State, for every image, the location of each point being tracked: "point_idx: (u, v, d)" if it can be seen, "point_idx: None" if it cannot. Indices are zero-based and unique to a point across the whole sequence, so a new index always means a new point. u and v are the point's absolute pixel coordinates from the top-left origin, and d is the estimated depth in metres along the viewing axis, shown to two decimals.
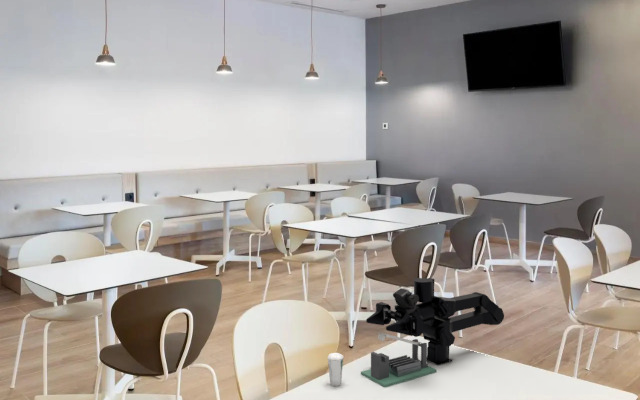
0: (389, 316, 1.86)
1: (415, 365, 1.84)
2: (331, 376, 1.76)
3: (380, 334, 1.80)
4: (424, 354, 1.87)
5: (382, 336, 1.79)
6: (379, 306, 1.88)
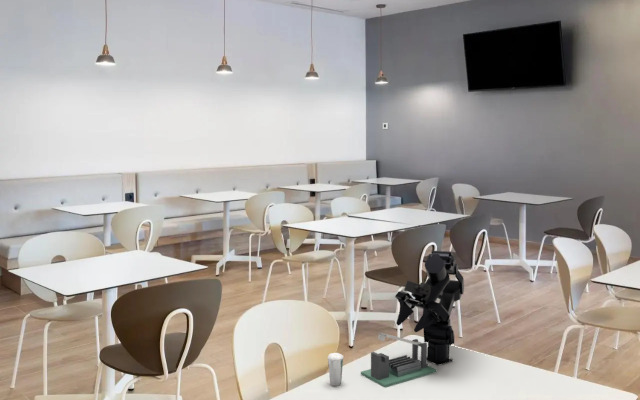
0: (412, 304, 1.90)
1: (415, 365, 1.84)
2: (331, 376, 1.76)
3: (380, 334, 1.80)
4: (424, 354, 1.87)
5: (382, 336, 1.79)
6: (400, 301, 1.90)
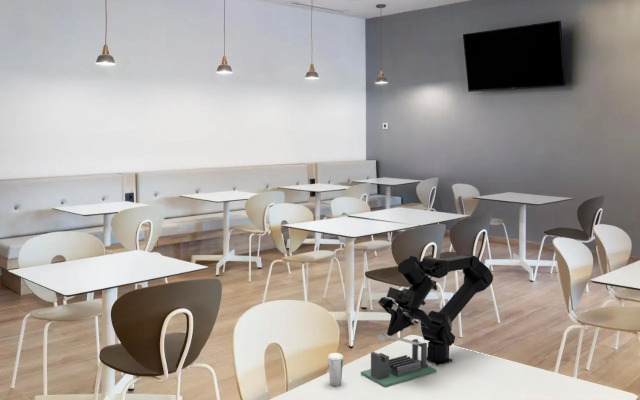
0: None
1: (415, 365, 1.84)
2: (331, 376, 1.76)
3: (380, 334, 1.80)
4: (424, 354, 1.87)
5: (382, 336, 1.79)
6: (391, 310, 1.84)
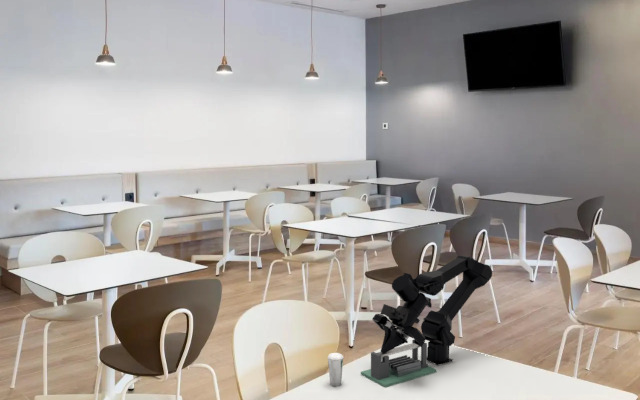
0: None
1: (415, 365, 1.84)
2: (331, 376, 1.76)
3: None
4: (424, 354, 1.87)
5: None
6: (385, 327, 1.83)
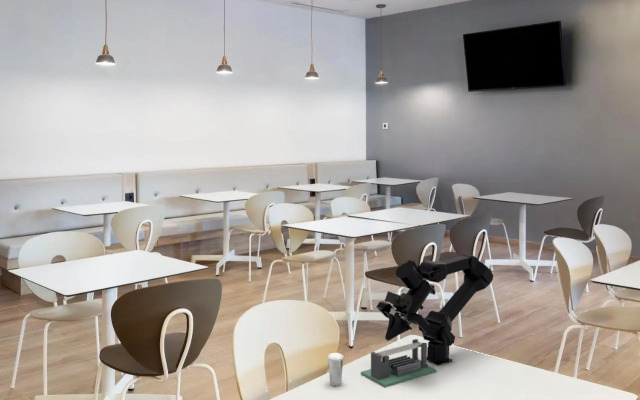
0: None
1: (415, 365, 1.84)
2: (331, 376, 1.76)
3: None
4: (424, 354, 1.87)
5: None
6: (389, 314, 1.83)
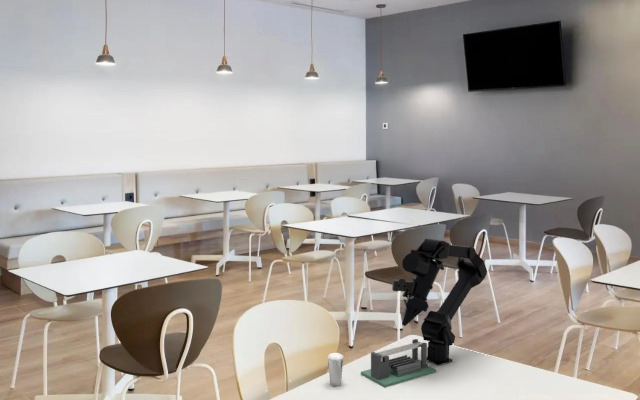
0: None
1: (415, 365, 1.84)
2: (331, 376, 1.76)
3: None
4: (424, 354, 1.87)
5: None
6: None
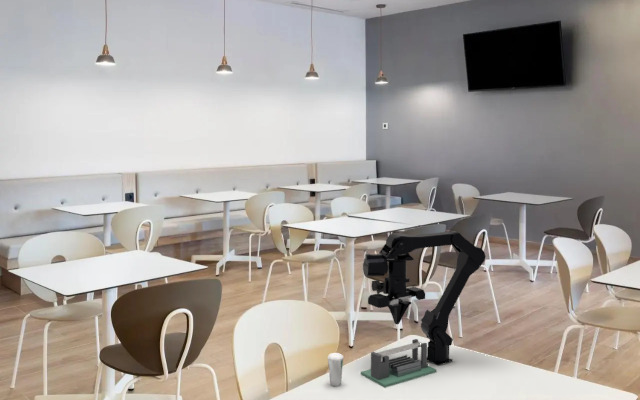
0: None
1: (415, 365, 1.84)
2: (331, 376, 1.76)
3: None
4: (424, 354, 1.87)
5: None
6: None
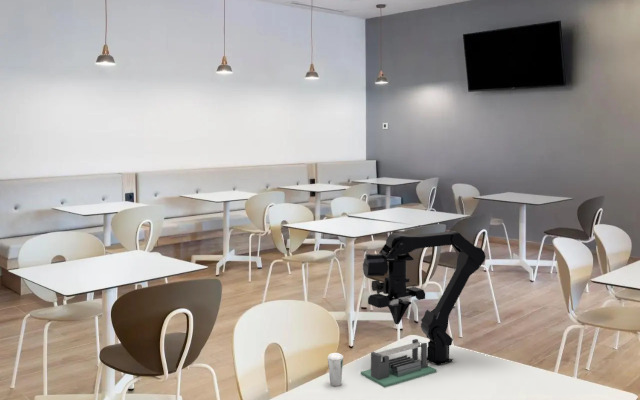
0: None
1: (415, 365, 1.84)
2: (331, 376, 1.76)
3: None
4: (424, 354, 1.87)
5: None
6: None
